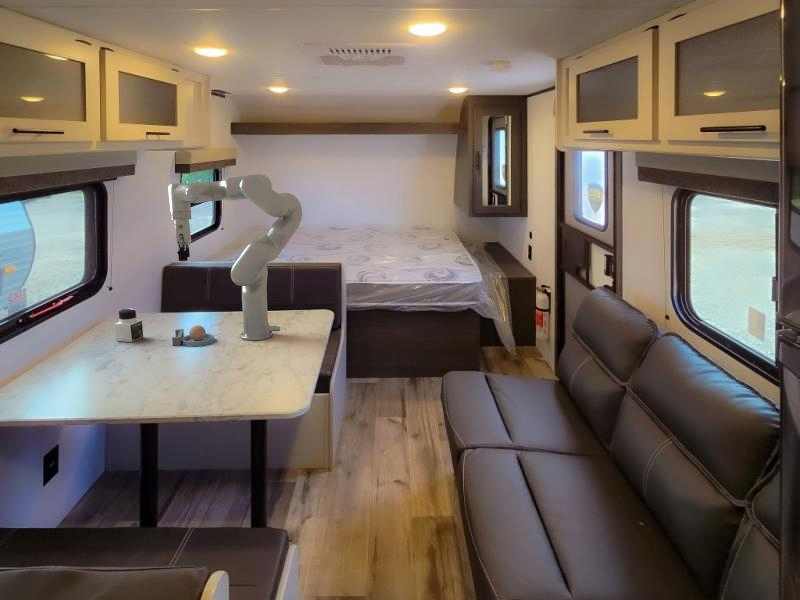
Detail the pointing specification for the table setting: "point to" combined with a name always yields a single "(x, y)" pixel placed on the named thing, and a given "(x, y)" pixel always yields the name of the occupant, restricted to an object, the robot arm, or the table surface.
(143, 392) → the table surface
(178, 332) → the gate arch
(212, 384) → the table surface
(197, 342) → the dish
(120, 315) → the medicine bottle
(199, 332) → the ball
